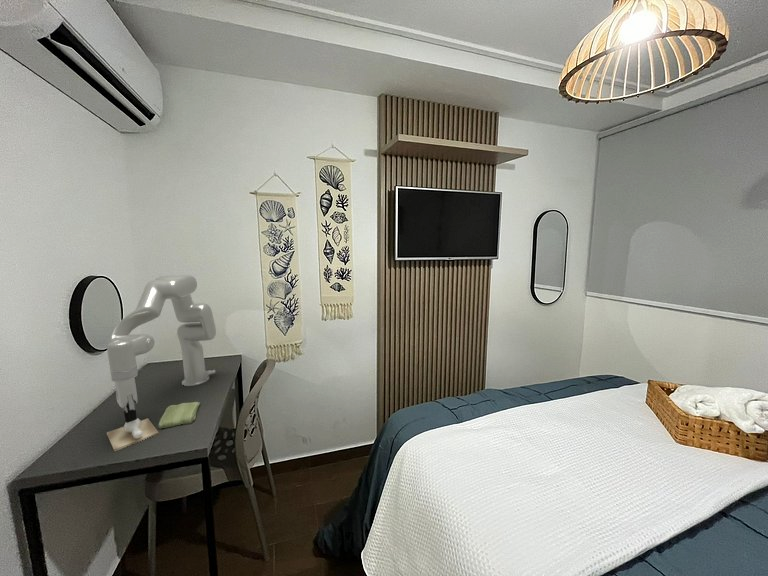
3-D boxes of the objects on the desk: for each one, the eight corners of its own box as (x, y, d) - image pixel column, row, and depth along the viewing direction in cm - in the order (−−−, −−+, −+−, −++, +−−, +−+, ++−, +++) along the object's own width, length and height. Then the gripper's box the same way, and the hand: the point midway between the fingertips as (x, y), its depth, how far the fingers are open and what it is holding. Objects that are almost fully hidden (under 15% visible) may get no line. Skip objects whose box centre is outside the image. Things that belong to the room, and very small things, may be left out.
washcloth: (201, 404, 143) (200, 397, 143) (194, 424, 127) (193, 416, 127) (167, 410, 138) (166, 404, 138) (155, 432, 122) (154, 424, 122)
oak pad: (148, 420, 130) (147, 418, 130) (158, 434, 120) (158, 432, 120) (106, 434, 121) (106, 432, 121) (114, 451, 110) (114, 449, 110)
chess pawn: (128, 433, 121) (134, 445, 115) (121, 424, 118) (127, 437, 113) (142, 423, 124) (150, 435, 118) (136, 415, 121) (143, 426, 116)
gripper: (107, 372, 119) (114, 417, 121) (115, 382, 109) (122, 432, 111) (132, 366, 124) (138, 410, 127) (141, 375, 114) (148, 423, 117)
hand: (131, 420), depth 119 cm, fingers closed
